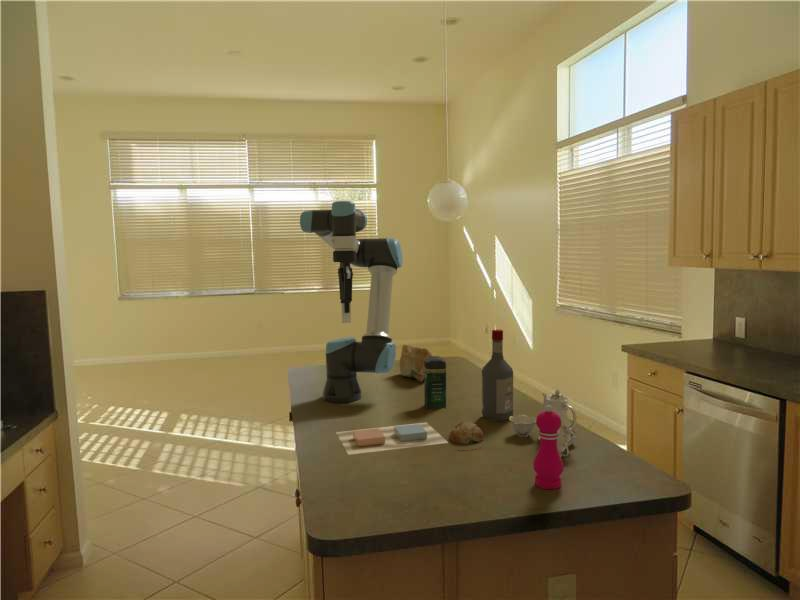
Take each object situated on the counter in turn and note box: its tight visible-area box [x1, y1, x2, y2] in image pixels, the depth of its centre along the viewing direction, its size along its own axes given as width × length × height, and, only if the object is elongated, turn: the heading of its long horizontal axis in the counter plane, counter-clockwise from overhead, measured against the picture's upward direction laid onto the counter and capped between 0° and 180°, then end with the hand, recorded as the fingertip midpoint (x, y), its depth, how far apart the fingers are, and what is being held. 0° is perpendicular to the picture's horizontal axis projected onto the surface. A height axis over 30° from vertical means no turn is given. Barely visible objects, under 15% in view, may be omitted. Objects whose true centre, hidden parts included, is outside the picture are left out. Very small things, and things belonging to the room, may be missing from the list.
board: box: [335, 422, 449, 456], centre depth 174 cm, size 20×30×1 cm, turn 106°
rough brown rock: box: [399, 344, 434, 383], centre depth 253 cm, size 23×17×15 cm
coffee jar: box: [423, 355, 447, 410], centre depth 207 cm, size 10×8×19 cm
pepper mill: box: [532, 405, 564, 490], centre depth 141 cm, size 7×7×20 cm
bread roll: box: [449, 421, 485, 445], centre depth 172 cm, size 10×10×8 cm
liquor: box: [481, 329, 514, 422], centre depth 194 cm, size 9×9×30 cm
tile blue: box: [394, 423, 427, 441], centre depth 174 cm, size 2×8×8 cm
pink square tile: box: [352, 427, 385, 446], centre depth 171 cm, size 2×8×8 cm
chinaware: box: [508, 388, 577, 458], centre depth 169 cm, size 28×17×17 cm, turn 22°
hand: (346, 322), depth 186 cm, fingers closed
